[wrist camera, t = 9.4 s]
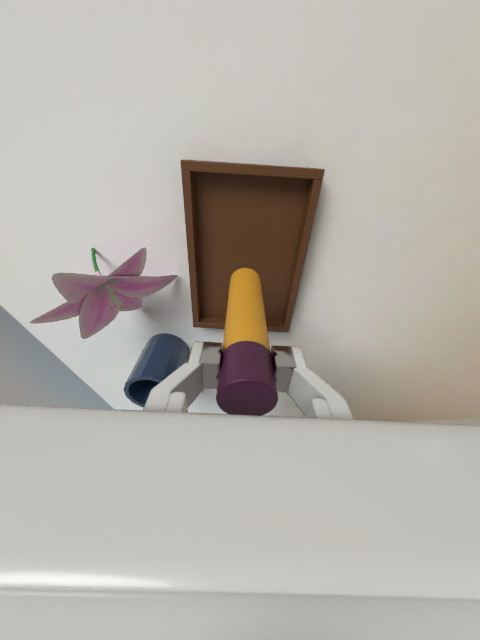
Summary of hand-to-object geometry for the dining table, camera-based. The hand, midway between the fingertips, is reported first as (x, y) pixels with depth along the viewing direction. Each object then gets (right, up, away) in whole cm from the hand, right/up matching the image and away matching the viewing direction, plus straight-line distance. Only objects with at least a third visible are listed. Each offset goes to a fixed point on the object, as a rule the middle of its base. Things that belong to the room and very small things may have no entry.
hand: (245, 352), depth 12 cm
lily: (-13, +7, +13) cm, 20 cm away
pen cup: (-11, -2, +20) cm, 23 cm away
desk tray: (0, +8, +12) cm, 15 cm away
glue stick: (0, +5, +7) cm, 9 cm away
